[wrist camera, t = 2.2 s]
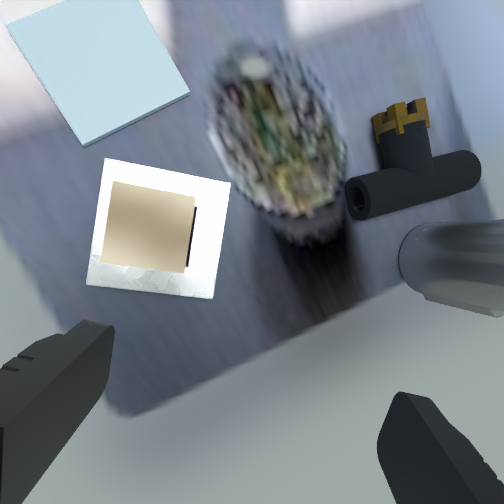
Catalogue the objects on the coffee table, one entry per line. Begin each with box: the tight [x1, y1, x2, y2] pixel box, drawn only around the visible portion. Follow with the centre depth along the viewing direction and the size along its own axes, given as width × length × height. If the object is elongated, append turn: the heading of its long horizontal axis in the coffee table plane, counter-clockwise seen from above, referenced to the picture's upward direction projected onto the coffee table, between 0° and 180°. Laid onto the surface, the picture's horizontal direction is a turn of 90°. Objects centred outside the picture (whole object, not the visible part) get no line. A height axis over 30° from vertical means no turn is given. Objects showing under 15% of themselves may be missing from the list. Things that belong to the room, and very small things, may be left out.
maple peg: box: [100, 181, 196, 274], centre depth 26 cm, size 5×5×14 cm
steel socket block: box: [86, 158, 230, 299], centre depth 31 cm, size 12×12×2 cm
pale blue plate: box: [5, 0, 190, 147], centre depth 30 cm, size 12×12×1 cm
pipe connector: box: [345, 98, 481, 221], centre depth 36 cm, size 12×5×15 cm
